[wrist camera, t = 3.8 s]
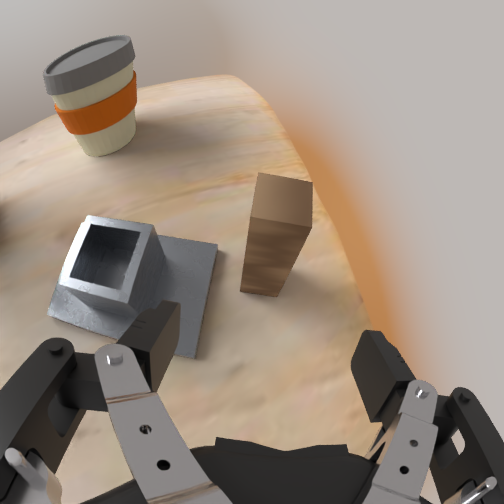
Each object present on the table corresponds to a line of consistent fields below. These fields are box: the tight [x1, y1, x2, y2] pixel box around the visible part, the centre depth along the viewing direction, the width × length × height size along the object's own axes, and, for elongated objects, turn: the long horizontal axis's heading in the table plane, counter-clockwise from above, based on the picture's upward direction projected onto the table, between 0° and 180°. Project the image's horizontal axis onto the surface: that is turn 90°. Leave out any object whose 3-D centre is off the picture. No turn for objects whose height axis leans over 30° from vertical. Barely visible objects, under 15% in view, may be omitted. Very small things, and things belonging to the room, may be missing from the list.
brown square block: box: [240, 173, 313, 297], centre depth 21 cm, size 4×4×12 cm
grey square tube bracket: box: [47, 215, 218, 359], centre depth 22 cm, size 16×11×6 cm
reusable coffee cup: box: [43, 35, 137, 156], centre depth 28 cm, size 12×13×15 cm
